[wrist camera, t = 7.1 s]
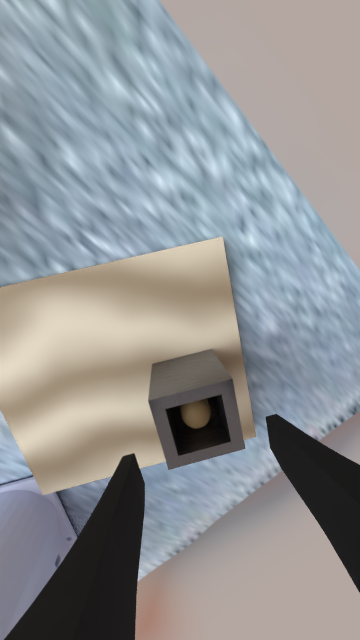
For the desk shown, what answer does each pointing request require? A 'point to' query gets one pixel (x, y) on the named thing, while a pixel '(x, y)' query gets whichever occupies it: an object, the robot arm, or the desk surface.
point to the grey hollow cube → (188, 386)
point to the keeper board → (111, 357)
